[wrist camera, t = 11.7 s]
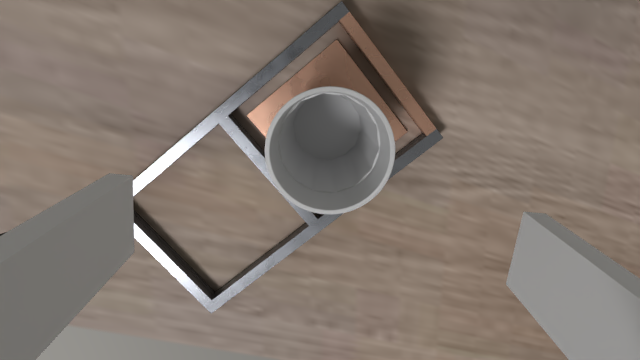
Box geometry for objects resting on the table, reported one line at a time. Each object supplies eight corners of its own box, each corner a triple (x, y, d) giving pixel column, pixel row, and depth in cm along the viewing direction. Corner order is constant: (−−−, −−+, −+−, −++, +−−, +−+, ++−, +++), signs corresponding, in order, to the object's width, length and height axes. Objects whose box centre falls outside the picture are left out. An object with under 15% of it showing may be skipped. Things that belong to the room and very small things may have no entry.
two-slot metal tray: (214, 304, 43) (211, 313, 42) (111, 201, 40) (103, 206, 39) (438, 134, 39) (443, 137, 37) (340, 3, 36) (341, 1, 34)
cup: (381, 87, 37) (409, 100, 26) (361, 175, 39) (379, 224, 28) (289, 69, 37) (275, 74, 25) (274, 159, 39) (255, 202, 27)
